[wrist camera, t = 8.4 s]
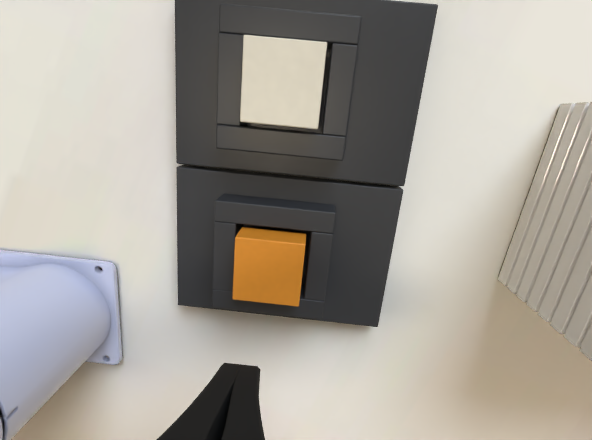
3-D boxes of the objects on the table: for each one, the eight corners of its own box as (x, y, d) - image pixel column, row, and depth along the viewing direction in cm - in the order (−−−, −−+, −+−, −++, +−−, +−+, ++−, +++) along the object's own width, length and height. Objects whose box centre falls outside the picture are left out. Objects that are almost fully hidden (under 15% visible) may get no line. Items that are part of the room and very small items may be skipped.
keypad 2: (183, 161, 20) (162, 167, 18) (183, -10, 18) (158, -35, 15) (399, 182, 20) (413, 192, 17) (430, 11, 18) (452, -10, 15)
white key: (246, 121, 17) (239, 121, 15) (250, 43, 16) (243, 34, 14) (317, 128, 17) (318, 129, 15) (325, 50, 16) (327, 42, 14)
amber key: (239, 284, 20) (231, 299, 18) (241, 226, 19) (234, 236, 17) (300, 291, 20) (298, 307, 18) (306, 233, 19) (305, 244, 17)
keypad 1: (184, 295, 23) (166, 320, 20) (184, 164, 20) (162, 171, 18) (374, 316, 23) (383, 345, 20) (398, 185, 20) (412, 196, 17)
